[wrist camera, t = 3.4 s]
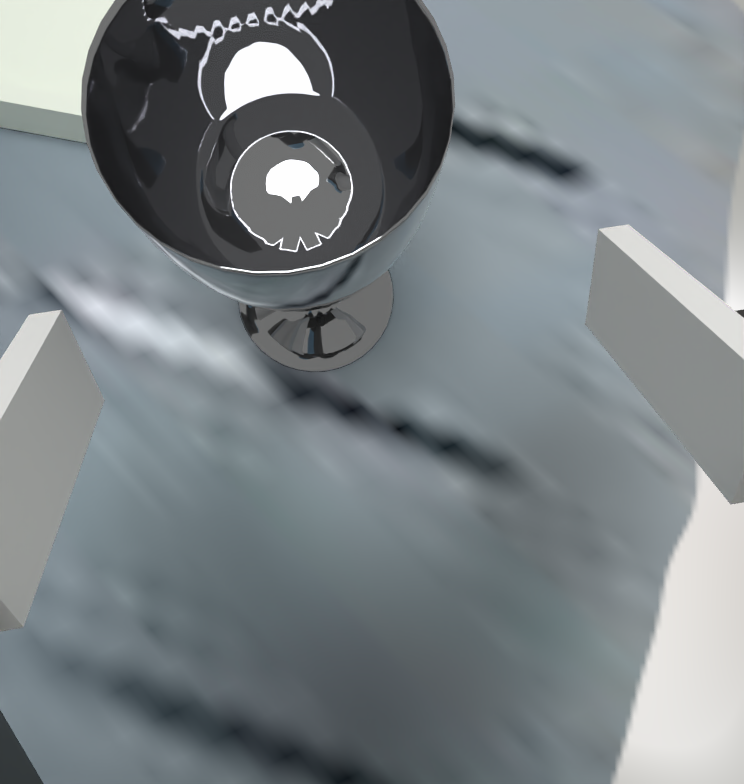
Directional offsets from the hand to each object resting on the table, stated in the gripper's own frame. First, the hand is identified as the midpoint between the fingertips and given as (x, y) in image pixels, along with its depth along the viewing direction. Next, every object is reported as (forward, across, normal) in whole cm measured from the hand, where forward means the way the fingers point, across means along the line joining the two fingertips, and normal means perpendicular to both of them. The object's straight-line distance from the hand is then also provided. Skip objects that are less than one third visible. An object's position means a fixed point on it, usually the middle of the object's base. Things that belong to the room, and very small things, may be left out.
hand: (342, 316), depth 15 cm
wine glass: (+12, -1, -6) cm, 13 cm away
